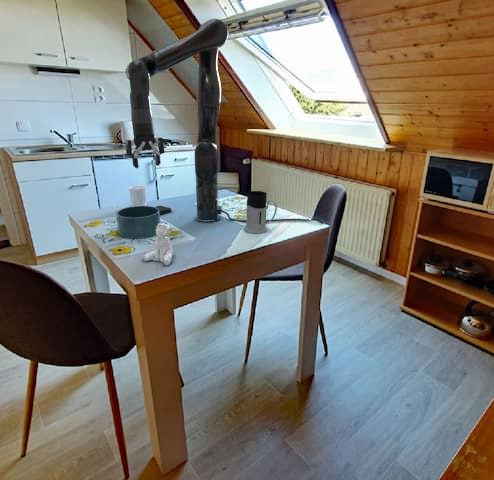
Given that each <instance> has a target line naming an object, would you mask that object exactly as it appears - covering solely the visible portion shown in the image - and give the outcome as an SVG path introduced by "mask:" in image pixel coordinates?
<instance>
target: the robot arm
mask: <svg viewBox="0 0 494 480" xmlns="http://www.w3.org/2000/svg"><path fill="white" fill-rule="evenodd" d="M228 37H229V28H228V26H227V24H226V23H225V22H224V21H223V20H221V19H218V18H211V19H208V20H206V21H205V22H203V23H201V25H199V28H198V30H196V31H194V32H193V33H191V34H189V35H187V36H185V37H183V38H180V39H178V40H174V41H172V42H170V43H167V44H165V45H163V46H160V47H159V48H157V49H154V50H152V52H149V54H146V55H145V56H143V57H140V58H138V59H134V60H132V61H130V62H129V63H127V65H126V67H125V76H126V78H127V80H128V81H129V89H130V91H129V92H130V93H129V102H130V103H129V104H130V118H131V119H130V120H131V121H130V122H131V126H132V134H133V139H125V155H126V157H128V158H129V157H130V158H131V161H132V166H133V167H134V169H139V167H140V165H139V158H138V157H139V156H138V155H140V153H141V152H146V151H151V152H152V153H153V154H154V162H155V163H154V164H155V166H157V167H159V166H160V165H161V155H163V154H165V153H166V152H165V151H166V150H165V145H164V138H163V137H160V136H158V137H155V127H154V126H155V125H154V118H153V116H154V115H153V111H152V106H151V105H152V104H151V97H150V83H151V81H150V80H151V79H150V78H152V77H153V76H156V75H157V74H161V73H164V72H165V71H168V70H169V69H171V68H173V67H176V66H177V65H179V64H181V63H182V62H184V61H186V60H188V59H189V58H192V57H194V56H195V55H198V71H197V88H196V115H197V123H198V124H197V125H198V131H197V139H196V145H195V149H194V175H195V199H196V200H195V201H196V220H197V221H199V222H204V223H211V222H218V221H219V215H222V213H223V214H225V215H226V216H227V218H228V219H229V220H230V221H233V222H241V223H244V222H245V223H246V219H241V220H239V219H238V220H237V219H233V218H232V217H230V214H229V213H228V212H227V211H226V210H223V207H222V206H220V205H219V186H218V185H219V184H218V183H219V176H218V175H219V170H218V169H219V167H218V166H219V165H218V163H219V162H218V159H219V157H218V156H219V155H218V147H217V146H218V145H217V143H218V142H217V126H218V122H219V115H220V108H221V97H222V86H221V80H220V76H219V71H218V55H219V49H220V48H222V47H223V46H224V45H225V44H226V43H227V41H228ZM155 144H157V146H155ZM132 146H135V147H134V149H133V147H132ZM309 219H311V220H309ZM270 220H271V219H266V223H267V222H268V221H270ZM281 221H283V222H284V221H302V222H303V221H304V222H312V221H315V222H319V223H320V224H322V225H324V224H325V223H324V222H323V221H322V220H320V219H318V218H277V219H273V220H271V221H270V222H281Z"/></svg>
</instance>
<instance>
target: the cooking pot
mask: <svg viewBox="0 0 494 480" xmlns="http://www.w3.org/2000/svg"><path fill="white" fill-rule="evenodd" d="M155 207H156V206H150V205H146V206H133V207H132V206H127V207H123V208H120V209H119V210H117V211H116V214H115V216H116V224H117V226H116V227H117V233H118V235H119V236H120V237H123V238H126V239H145V238H150V237H154V236H157V235H156V227H157V225H158V224H159V223H161V215H160V212H159V209H158V208H155Z"/></svg>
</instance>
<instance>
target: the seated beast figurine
mask: <svg viewBox="0 0 494 480" xmlns="http://www.w3.org/2000/svg"><path fill="white" fill-rule="evenodd" d="M173 229H174V228H173V227H170V226H169V225H168V224H167V223H164V222H160V223H159V224H158V225H157V227H156V235H155V236H156V237H155V241H154V242H153V245H154V246H155V249H154V250H152V251H148V252H146V253H145V254H144V255H143V260H144V261H145V262H151V261H155V262H156V261H157V262H161V263H163V264H164V265H165V266H168V265H170V264H171V263H172V258H173V255H174V248H173V246H172V244H171V239H170V238H169V237H168V236H170V233H171V232H173Z"/></svg>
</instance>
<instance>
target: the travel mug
mask: <svg viewBox="0 0 494 480" xmlns="http://www.w3.org/2000/svg"><path fill="white" fill-rule="evenodd" d="M267 194H268V193H267V192H266V191H263V190H252V191H247V196H246V197H247V199H246V213H245V214H246V215H245V217H246V218H245V220H246V222H245V228H244V231H245V232H247V233H250V234H263V233H266V232H267V230H268V229H267V227H266V226H267V224H269V223H270V222H272V221H271V220H274V218H275V216H276V214H277V210H278V204H277V202H276V200H274V199H269V200H268V201H267V199H268V197H267ZM270 202H273V204H274V205H275V206H274V213H273V215H272V217H271V218H270V219H269V220H270V221H268V222H266V220H267V210H268V209H269V204H270Z"/></svg>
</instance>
